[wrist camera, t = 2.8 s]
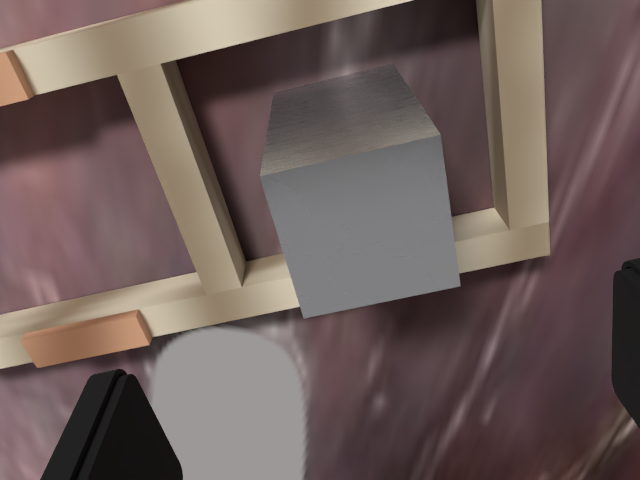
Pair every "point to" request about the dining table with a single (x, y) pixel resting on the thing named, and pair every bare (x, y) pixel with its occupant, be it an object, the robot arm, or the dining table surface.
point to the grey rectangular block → (358, 192)
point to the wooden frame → (201, 182)
